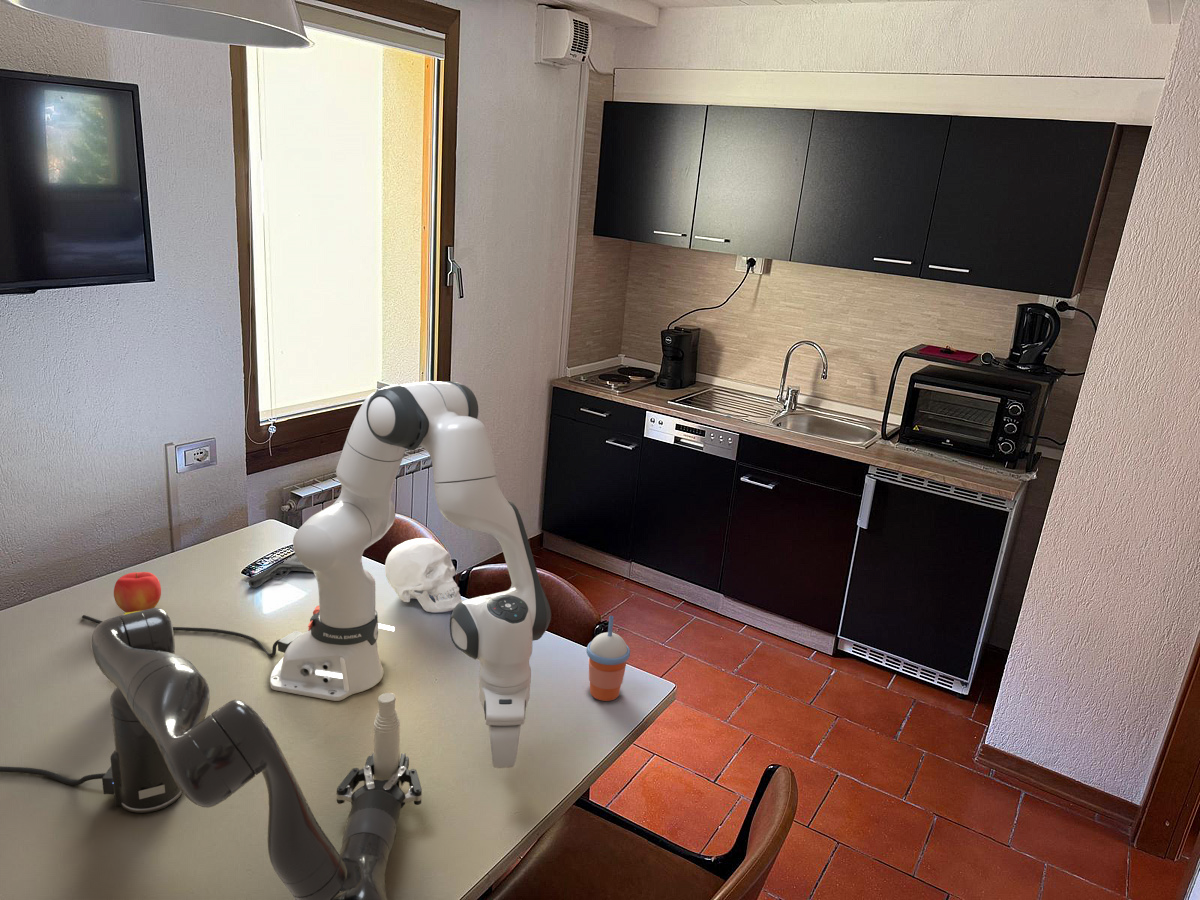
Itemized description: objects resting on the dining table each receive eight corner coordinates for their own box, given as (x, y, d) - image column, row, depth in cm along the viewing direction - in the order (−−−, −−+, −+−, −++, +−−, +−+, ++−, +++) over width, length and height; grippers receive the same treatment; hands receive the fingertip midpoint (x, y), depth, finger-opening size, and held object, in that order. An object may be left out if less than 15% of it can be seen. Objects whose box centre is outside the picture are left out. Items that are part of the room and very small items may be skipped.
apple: (166, 618, 196) (163, 578, 193) (118, 627, 190) (114, 586, 187) (159, 600, 203) (156, 561, 200) (113, 608, 198) (109, 569, 195)
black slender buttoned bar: (292, 594, 211) (247, 586, 213) (325, 565, 228) (283, 558, 229) (291, 586, 211) (246, 578, 212) (325, 557, 227) (283, 550, 229)
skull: (448, 622, 203) (451, 561, 199) (372, 599, 211) (374, 540, 207) (477, 602, 215) (480, 543, 211) (405, 581, 223) (406, 524, 219)
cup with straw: (621, 709, 175) (629, 631, 170) (578, 700, 177) (585, 623, 172) (629, 685, 184) (636, 610, 179) (588, 677, 185) (594, 603, 180)
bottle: (372, 791, 147) (372, 691, 141) (397, 788, 148) (398, 688, 142) (374, 808, 143) (374, 706, 137) (400, 804, 144) (401, 703, 138)
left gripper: (418, 809, 130) (431, 739, 146) (322, 808, 128) (346, 737, 145) (417, 850, 132) (430, 776, 148) (323, 849, 131) (346, 774, 147)
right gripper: (486, 656, 157) (484, 721, 161) (485, 723, 137) (483, 795, 141) (521, 656, 158) (518, 720, 162) (525, 722, 138) (521, 794, 142)
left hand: (389, 757), depth 146 cm, fingers closed on bottle, 4 cm apart
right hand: (502, 756), depth 151 cm, fingers closed on cap, 4 cm apart
